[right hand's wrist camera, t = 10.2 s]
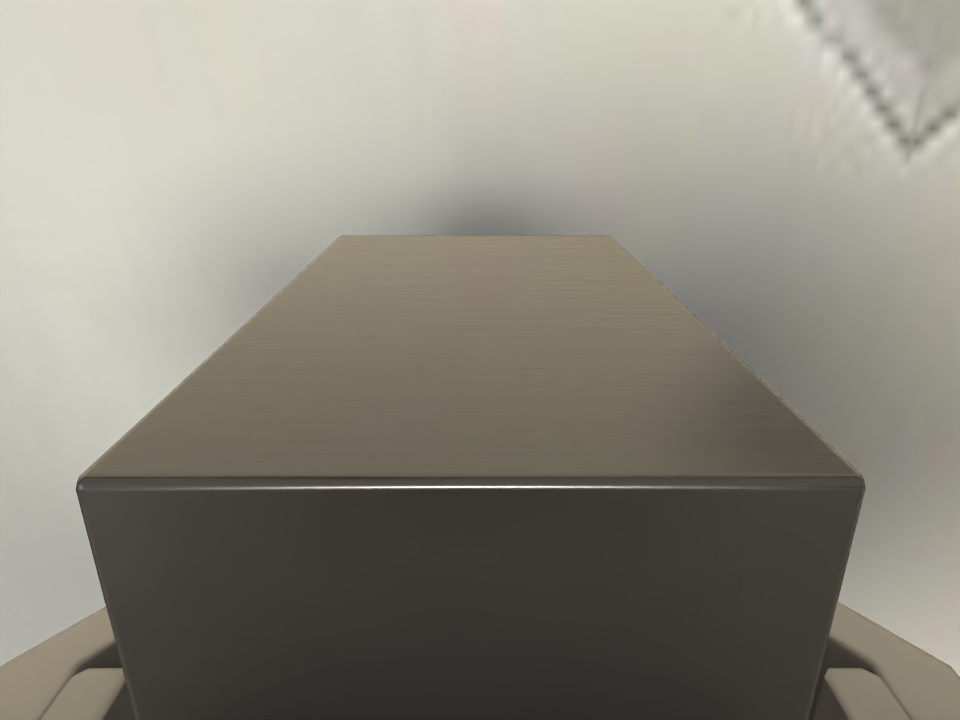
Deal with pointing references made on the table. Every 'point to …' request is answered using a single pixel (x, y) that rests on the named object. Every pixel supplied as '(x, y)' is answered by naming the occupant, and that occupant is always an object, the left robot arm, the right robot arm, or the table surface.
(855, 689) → the right robot arm
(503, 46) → the table surface
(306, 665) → the bar
